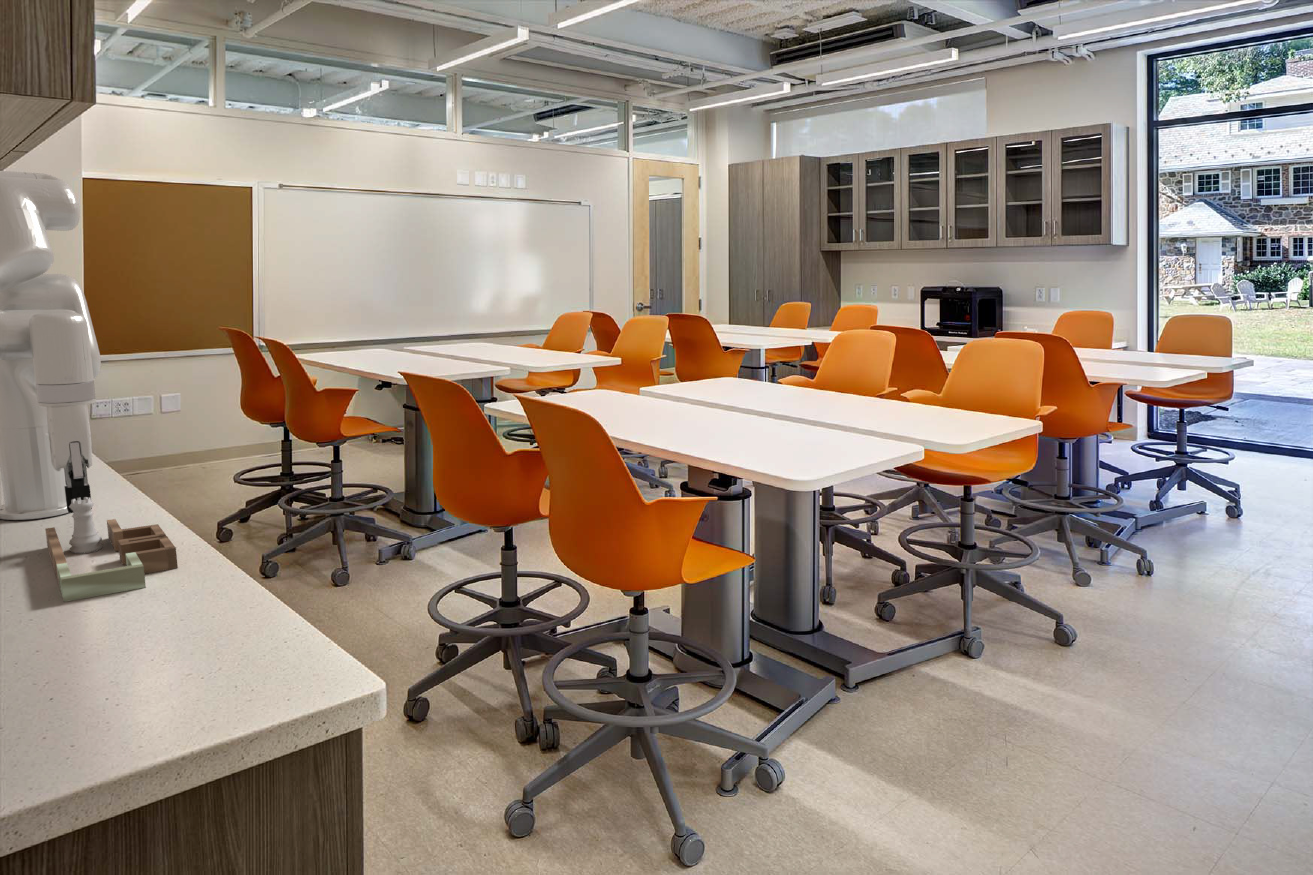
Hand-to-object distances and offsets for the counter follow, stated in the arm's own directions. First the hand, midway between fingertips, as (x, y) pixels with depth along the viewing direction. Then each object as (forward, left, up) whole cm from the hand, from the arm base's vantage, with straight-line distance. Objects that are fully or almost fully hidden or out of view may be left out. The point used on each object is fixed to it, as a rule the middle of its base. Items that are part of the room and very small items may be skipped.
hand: (79, 510), depth 145 cm
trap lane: (+12, +9, -5) cm, 15 cm away
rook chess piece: (+4, +2, -5) cm, 7 cm away
